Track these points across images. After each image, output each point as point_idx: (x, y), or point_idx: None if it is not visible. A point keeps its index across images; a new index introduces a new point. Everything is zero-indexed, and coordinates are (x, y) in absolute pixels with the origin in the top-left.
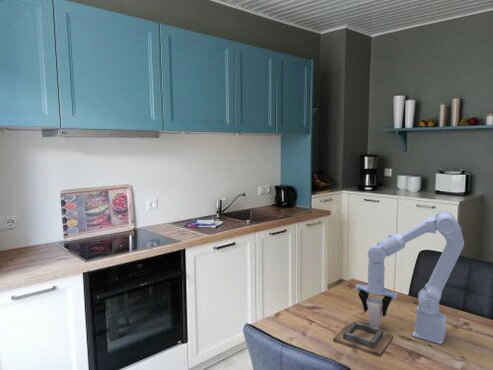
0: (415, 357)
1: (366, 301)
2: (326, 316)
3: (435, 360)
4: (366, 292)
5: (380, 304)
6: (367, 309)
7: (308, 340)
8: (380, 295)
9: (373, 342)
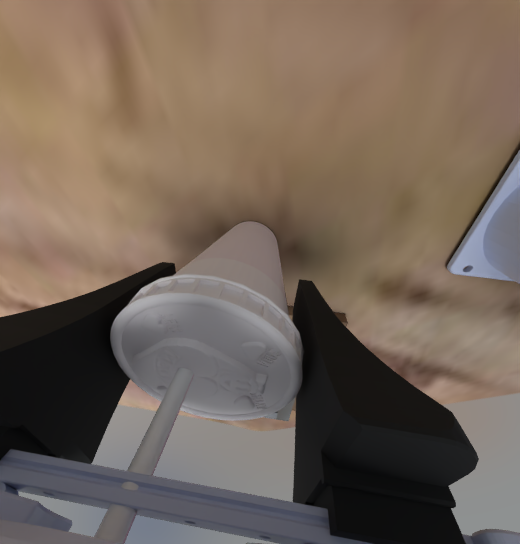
0: (415, 385)
1: (141, 377)
2: (39, 257)
3: (486, 382)
4: (31, 436)
5: (274, 412)
6: (173, 270)
7: (128, 393)
8: (249, 503)
9: (287, 420)
